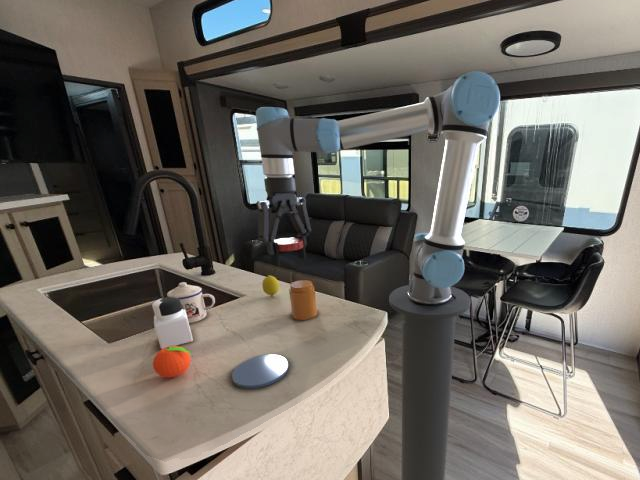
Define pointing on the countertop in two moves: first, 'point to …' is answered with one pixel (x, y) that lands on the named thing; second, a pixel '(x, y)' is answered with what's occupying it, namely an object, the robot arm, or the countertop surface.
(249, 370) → the saucer
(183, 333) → the medicine bottle
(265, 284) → the lemon
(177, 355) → the clementine
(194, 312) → the teacup with lid
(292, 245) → the lid
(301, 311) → the jar
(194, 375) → the countertop surface
